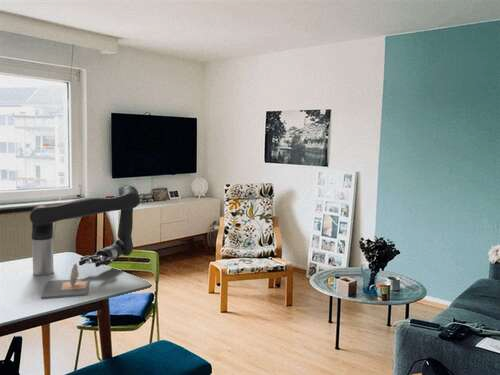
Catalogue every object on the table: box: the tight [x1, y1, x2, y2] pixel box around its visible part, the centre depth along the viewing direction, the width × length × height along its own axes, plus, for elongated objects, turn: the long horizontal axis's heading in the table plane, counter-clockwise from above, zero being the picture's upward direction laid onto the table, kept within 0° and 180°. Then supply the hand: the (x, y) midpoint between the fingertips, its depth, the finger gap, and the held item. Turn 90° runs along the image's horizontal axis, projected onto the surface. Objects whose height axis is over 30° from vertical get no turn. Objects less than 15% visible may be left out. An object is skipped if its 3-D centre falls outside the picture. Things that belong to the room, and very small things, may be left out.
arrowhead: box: [69, 263, 80, 286], centre depth 201 cm, size 8×3×10 cm, turn 177°
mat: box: [40, 277, 90, 300], centre depth 200 cm, size 21×18×1 cm
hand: (87, 264), depth 212 cm, fingers open, 8 cm apart
